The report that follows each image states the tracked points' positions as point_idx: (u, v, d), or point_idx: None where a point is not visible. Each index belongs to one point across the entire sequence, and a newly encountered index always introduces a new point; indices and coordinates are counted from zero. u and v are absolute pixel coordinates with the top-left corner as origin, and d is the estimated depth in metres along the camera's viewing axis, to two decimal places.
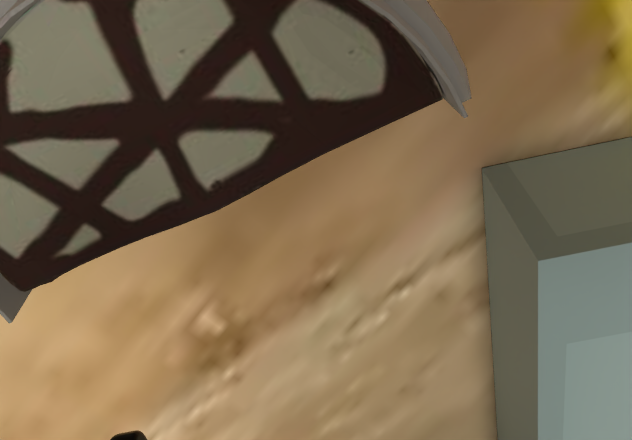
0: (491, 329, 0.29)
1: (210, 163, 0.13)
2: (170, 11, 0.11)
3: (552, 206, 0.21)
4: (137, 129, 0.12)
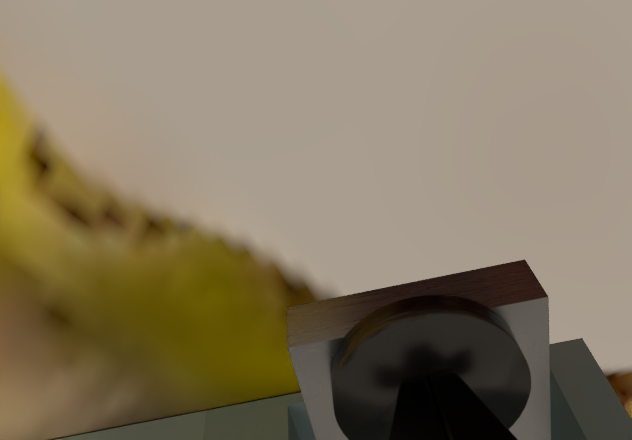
0: None
1: None
2: None
3: None
4: None
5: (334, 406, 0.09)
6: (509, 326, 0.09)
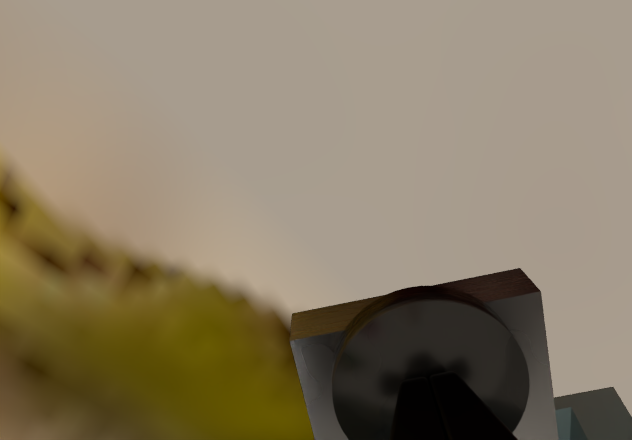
0: None
1: None
2: None
3: None
4: None
5: (333, 398, 0.09)
6: (504, 324, 0.10)
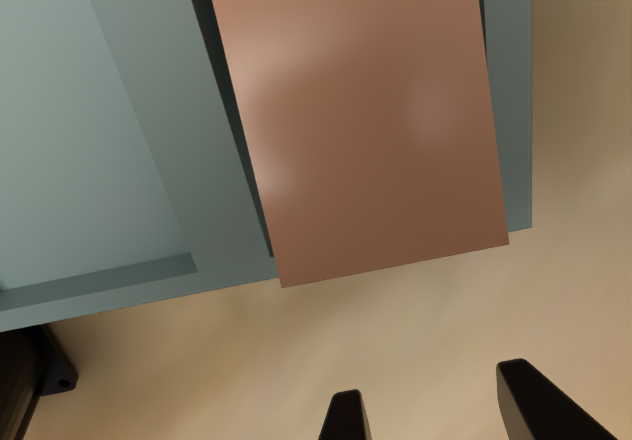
0: None
1: None
2: None
3: None
4: None
5: None
6: None
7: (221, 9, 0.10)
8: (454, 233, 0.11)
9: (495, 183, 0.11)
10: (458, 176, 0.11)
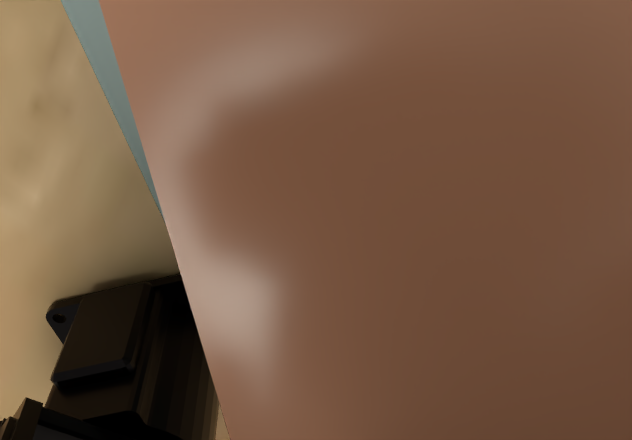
0: None
1: None
2: None
3: None
4: None
5: None
6: None
7: (165, 177, 0.05)
8: None
9: None
10: None
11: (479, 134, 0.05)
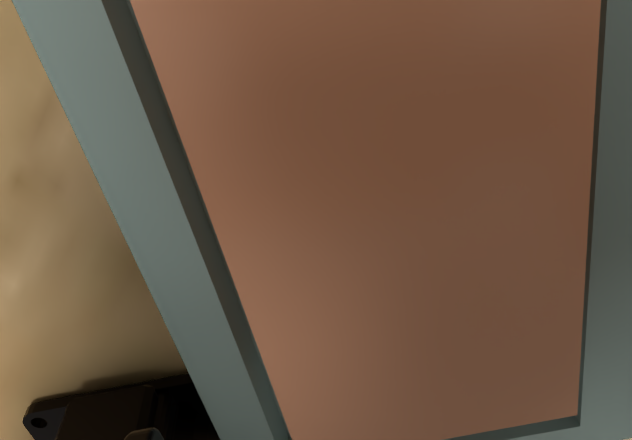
0: None
1: None
2: None
3: None
4: None
5: None
6: None
7: (212, 194, 0.07)
8: (514, 409, 0.09)
9: (572, 361, 0.09)
10: (528, 359, 0.09)
11: (444, 161, 0.07)
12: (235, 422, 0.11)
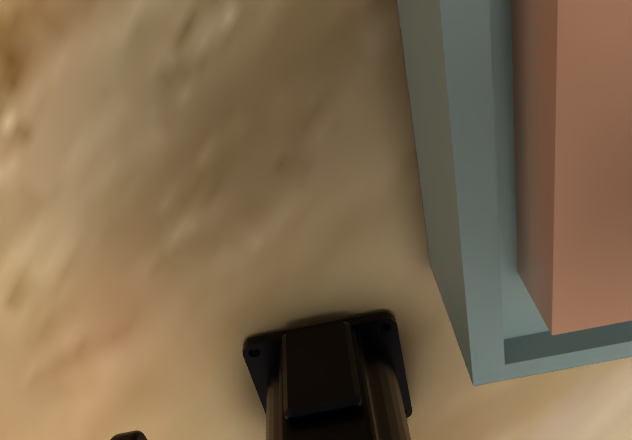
0: None
1: None
2: None
3: None
4: None
5: None
6: None
7: (560, 160, 0.13)
8: None
9: None
10: None
11: None
12: (482, 320, 0.17)
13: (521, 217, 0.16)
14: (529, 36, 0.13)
